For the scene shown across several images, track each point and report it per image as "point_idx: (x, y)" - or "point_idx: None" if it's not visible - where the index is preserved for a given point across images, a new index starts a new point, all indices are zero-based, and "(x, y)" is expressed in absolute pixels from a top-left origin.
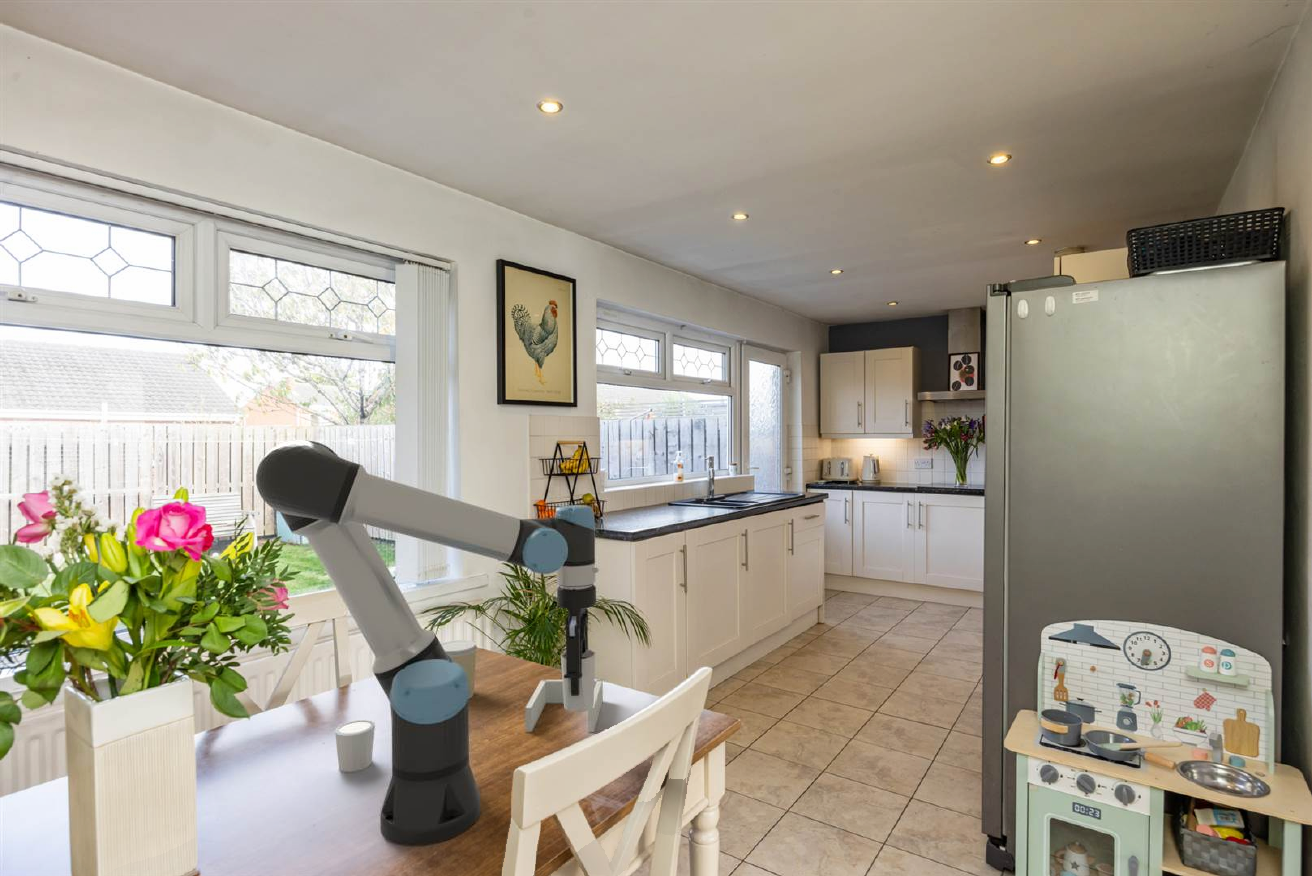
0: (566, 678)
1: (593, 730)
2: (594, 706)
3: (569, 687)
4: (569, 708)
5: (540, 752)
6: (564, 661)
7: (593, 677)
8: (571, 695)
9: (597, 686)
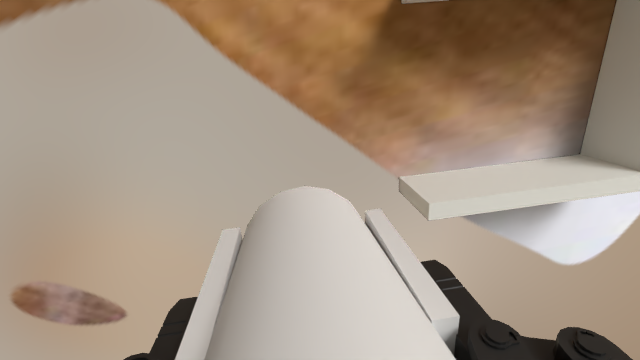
0: (222, 320)
1: (400, 191)
2: (444, 217)
3: (195, 312)
4: (221, 239)
5: (267, 77)
6: None
7: None
8: (178, 302)
9: (604, 187)
